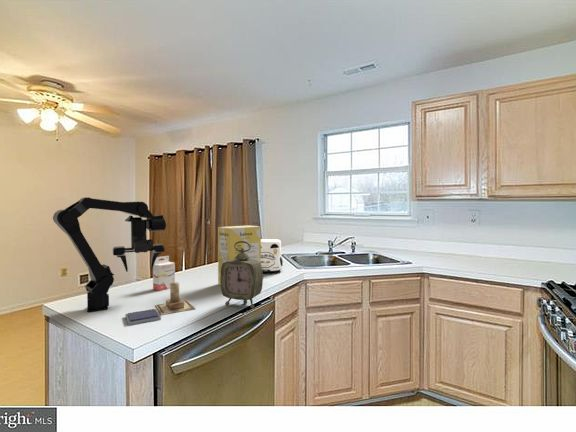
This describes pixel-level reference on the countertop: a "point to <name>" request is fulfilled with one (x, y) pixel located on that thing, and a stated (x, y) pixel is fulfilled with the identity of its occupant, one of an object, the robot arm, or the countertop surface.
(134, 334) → the countertop surface
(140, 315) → the ink pad
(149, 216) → the robot arm
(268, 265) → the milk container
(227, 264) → the tabletop clock
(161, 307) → the marked card
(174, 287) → the stamp
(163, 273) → the ink cartridge box
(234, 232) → the pasta box
